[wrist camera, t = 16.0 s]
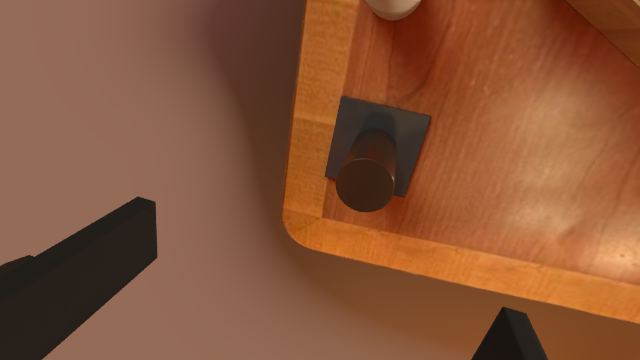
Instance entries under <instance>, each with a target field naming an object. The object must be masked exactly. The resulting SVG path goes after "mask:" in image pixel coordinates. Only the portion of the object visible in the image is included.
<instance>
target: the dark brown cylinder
mask: <svg viewBox="0 0 640 360" xmlns="http://www.w3.org/2000/svg"><path fill="white" fill-rule="evenodd" d="M395 168H396V144H395V141H394V139H393V137H392V136H391V135H390V134H389V133H388V132H386V131H384V130H382V129H378V128H371V129H367V130H365V131H363V132H361V133H360V134H359V135H358V136H357V137H356V139H355V140H354V142H353V144H352V147H351V149H350V151H349V153H348V155H347V157H346V159H345V161H344V163H343V165H342V167H341V169H340V171H339V173H338V175H337V178H336V190H337V193H338V196H339V197H340V199H341V200H342V201H343V203H344V204H346V205H347V206H348V207H350V208H351V209H354V210H356V211H360V212H373V211H377V210H379V209H381V208H383V207H384V206H386V205H387V204H388V203H389V201H390V200H391V198H392V196H393V194H394V189H395Z"/></svg>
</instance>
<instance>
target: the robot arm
mask: <svg viewBox="0 0 640 360" xmlns="http://www.w3.org/2000/svg"><path fill="white" fill-rule="evenodd" d="M155 205H156V204H155V202H154V201H151V200H147V199H144V198H141V197H136V198H135V199H133V200H131V201H130V202H128V203H126V204H125V205H123V206H121V207H119V208H118V209H116V210H114V211H112V212H111V213H109V214H107V215H106V216H104V217H102V218H100V219H99V220H97V221H96V222H94V223H92V224H90V225H89V226H87V227H85V228H83V229H82V230H80V231H78V232H77V233H75V234H73V235H71V236H70V237H68V238H66V239H64V240H63V241H61V242H59V243H58V244H56V245H54V246H52V247H51V248H49V249H47V250H46V251H44V252H42V253H40V254H39V255H37V256H35V257H33V256H30V255H28V256H26V257H22V258H19V259H16V260H14V261H11V262H8V263H5V264H3V265H1V266H0V360H42V359H43V358H44V357H45V356H47V355H48V354H49V353H50V352H51V351H52V350H53V349H54V348H56V347H57V346H58V345H59V344H60V343H61V342H62V341H63V340H65V339H66V338H67V337H68V336H69V335H70V334H71V333H72V332H74V331H75V330H76V329H77V328H78V327H79V326H80V325H81V324H83V323H84V322H85V321H86V320H87V319H88V318H90V317H91V316H92V315H93V314H94V313H95V312H96V311H97V310H99V309H100V308H101V307H102V306H103V305H104V304H105V303H106V302H108V301H109V300H110V299H111V298H112V297H113V296H114V295H115V294H117V293H118V292H119V291H120V290H121V289H122V288H123V287H124V286H126V285H127V284H128V283H129V282H130V281H131V280H133V279H134V278H135V277H136V276H137V275H138V274H139V273H140V272H142V270H144V269H145V268H146V267H147V266H148V265H150V264H151V263H152V262H153V261H154V260H155V259H156V258H157V233H156V206H155ZM471 360H548V358H547V356H546V354H545V352H544V350H543V348H542V346H541V343H540V341H539V339H538V337H537V335H536V333H535V331H534V329H533V327H532V325H531V322H530V320H529V318H528V316H527V314H526V313H523V312H519V311H516V310H513V309H509V308H506V307H502V309H501V310H500V312H499V314H498V316H497V317H496V319H495V321H494V322H493V324H492V326H491V328H490V329H489V331H488V332H487V334H486V336H485V338H484V339H483V341H482V342H481V344H480V346H479V348H478V349H477V351H476V353H475V354H474V356H473V358H472V359H471Z"/></svg>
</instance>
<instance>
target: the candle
mask: <svg viewBox="0 0 640 360" xmlns="http://www.w3.org/2000/svg"><path fill="white" fill-rule="evenodd" d="M365 1H366V3H367V4H368V5H369V7H370V8H371V9H372V10H373V12H374V13H375V14H376V15H378V16H379V17H381V18H383V19H386V20H399V19H402V18H405V17H406V16H408V15H410V14H411V13H412V12H413V11H414V10H415V9H416V8H417V7H418V5H419V4H420V2H421V0H365Z"/></svg>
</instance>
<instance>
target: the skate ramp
mask: <svg viewBox="0 0 640 360" xmlns="http://www.w3.org/2000/svg"><path fill="white" fill-rule="evenodd" d="M565 1H566V2H568V3H569V4H570V5H571V6H572V7H573V8H574V9H575V10H576V11H577V12H578V13H580V14H581V15H582V16H583V17H584V18H585V19H586V20H587V21H588V22H589V23H591V24H592V25H593V26H594V27H595V28H596V29H597V30H598V31H599V32H600V33H601V34H603V35H604V36H605V37H606V38H607V39H608V40H609V41H610V42H611V43H612V44H613V45H615V46H616V47H617V48H618V49H619V50H620V51H621V52H622V53H623V54H624V55H625V56H627V57H628V58H629V59H630V60H631V61H632V62H633V63H634V64H635V65H636V66H637V67H639V68H640V7H639V6H640V0H565ZM637 4H638V5H639V6H638V5H637Z"/></svg>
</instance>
